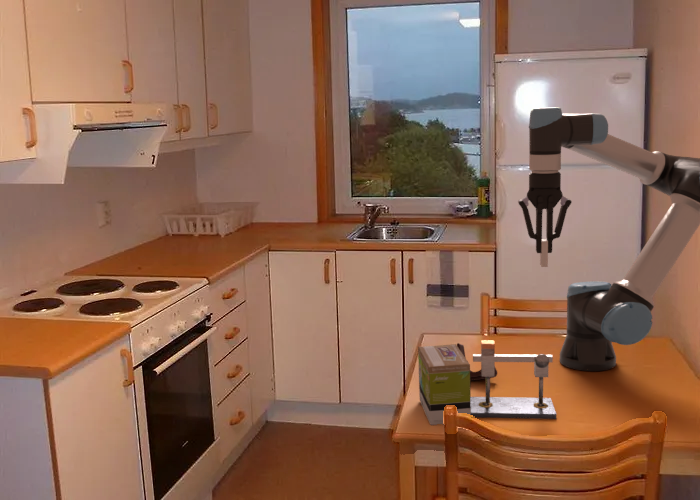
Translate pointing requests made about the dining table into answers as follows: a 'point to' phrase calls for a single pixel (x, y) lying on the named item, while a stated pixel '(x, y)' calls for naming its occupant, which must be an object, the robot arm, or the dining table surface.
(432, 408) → the tea box
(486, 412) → the board
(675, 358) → the dining table surface
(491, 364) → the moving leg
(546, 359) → the beam
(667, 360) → the dining table surface
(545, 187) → the robot arm
